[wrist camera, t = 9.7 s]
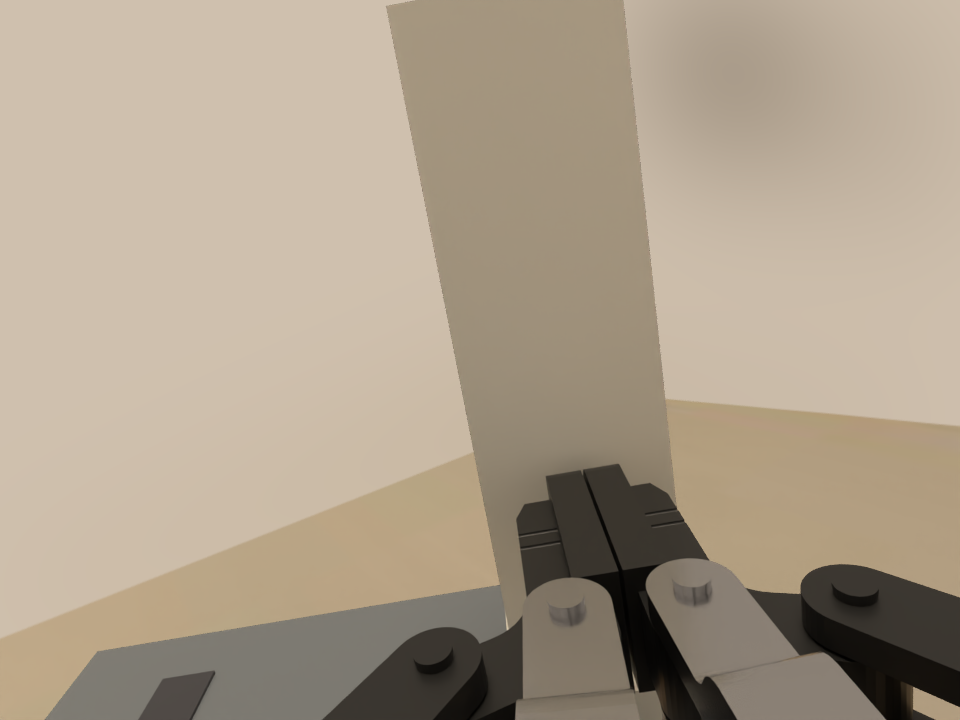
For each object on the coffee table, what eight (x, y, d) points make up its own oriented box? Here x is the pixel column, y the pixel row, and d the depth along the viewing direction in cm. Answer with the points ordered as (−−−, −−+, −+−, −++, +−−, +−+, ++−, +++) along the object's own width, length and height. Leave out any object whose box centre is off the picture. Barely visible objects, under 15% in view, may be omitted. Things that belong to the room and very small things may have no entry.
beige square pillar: (666, 611, 18) (596, 2, 14) (714, 715, 15) (640, -54, 10) (510, 637, 18) (393, 42, 14) (521, 746, 15) (369, -1, 11)
